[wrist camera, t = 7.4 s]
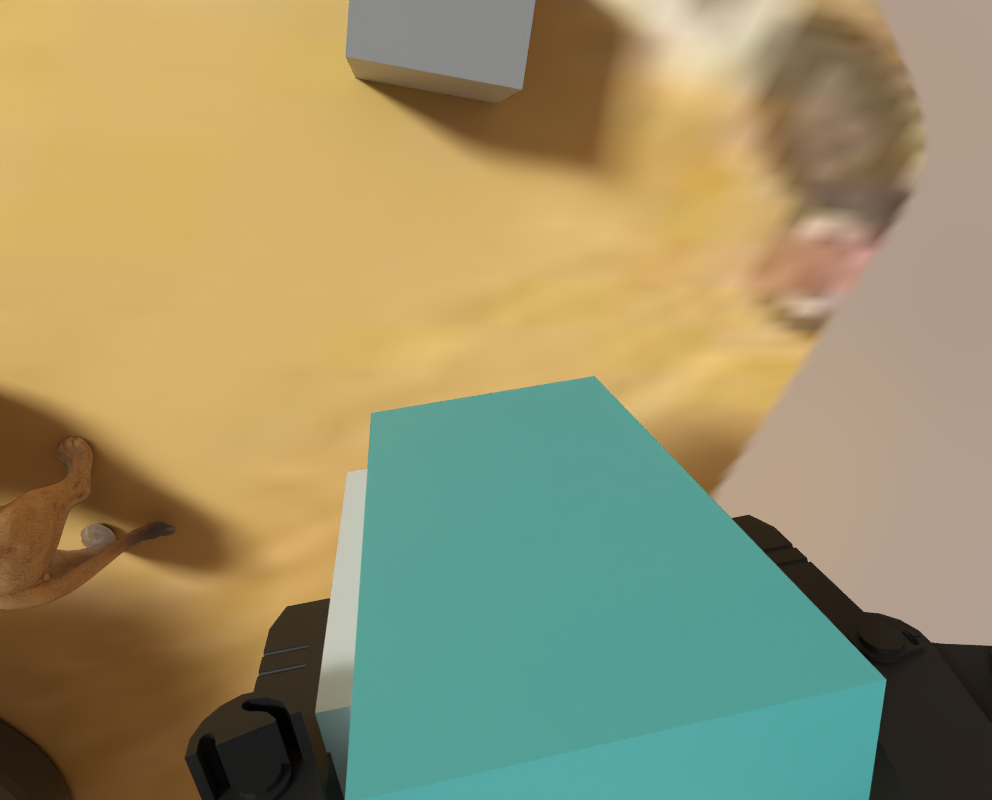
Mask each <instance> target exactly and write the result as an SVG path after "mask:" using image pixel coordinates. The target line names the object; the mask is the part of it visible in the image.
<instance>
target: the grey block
mask: <svg viewBox="0 0 992 800" xmlns="http://www.w3.org/2000/svg"><path fill="white" fill-rule="evenodd" d="M535 1H536V0H349V12H348V28H347V43H346V58H347V60H348V63H349V65H350V67H351V69H352V71H353V73H354V75H355V78H358V79H364V80H369V81H374V82H380V83H385V84H391V85H396V86H402V87H407V88H413V89H418V90H424V91H429V92H435V93H440V94H446V95H451V96H457V97H462V98H468V99H473V100H479V101H484V102H490V103H495V104H497V103H499V102H501V101H503V100H505V99H506V98H508V97H510V96H512V95H514V94H515V93H517V92H519V91H521V90H522V89H523V82H524V75H525V68H526V62H527V55H528V48H529V41H530V35H531V28H532V21H533V14H534V8H535Z"/></svg>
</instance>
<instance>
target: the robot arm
mask: <svg viewBox="0 0 992 800" xmlns="http://www.w3.org/2000/svg"><path fill="white" fill-rule="evenodd" d="M366 483H367V469H363V470H357V471H351V472H347V479H346V486H345V494H344V501H343V509H342V516H341V524H340V531H339V538H338V546H337V553H336V561H335V568H334V576H333V583H332V591H331V598H329V599H323V600H318V601H313V602H308V603H303V604H298V605H293V606H288V607H286V608H285V610H284V611H283V612H282V614H281V615H280V616H279V617H278V619H277V620H276V621H275V623H274V624H273V625H272V627H271V628H270V630H269V633H268V637H267V641H266V645H265V649H264V657H262V661H261V665H260V669H259V677H257V680H256V684H255V688H254V692H251V693H247V694H243V695H241V696H239V697H237V698H235V699H233V700H231V701H229V702H227V703H225V704H223V705H221V706H220V707H219V708H218V709H217V710H215V711H214V712H213V713H212V714H211V715H209V716H208V717H207V718H206V719H205V720H204V721H203V722H202V723H201V724H200V726H199V727H198V729H197V730H196V732H195V733H194V734H193V736H192V737H191V739H190V741H189V745H188V748H187V752H186V755H185V760H186V762H187V765H188V767H189V769H190V772H191V774H192V777H193V779H194V781H195V784H196V786H197V789H198V791H199V794H200V796H201V798H202V800H345V791H346V776H347V762H348V747H349V732H350V718H351V703H352V688H353V674H354V659H355V644H356V630H357V615H358V600H359V586H360V571H361V556H362V542H363V527H364V512H365V498H366ZM731 519H732V520H733V521H734V522H735V523H736V524H737V525H738V526H739V527H740V528H741V529H742V530H743V531H744V532H745V533H746V534H747V535H748V536H749V537H750V538H751V539H752V540H753V541H754V542H755V543H756V545H757V546H758V547H759V548H760V549H761V550H762V551H763V552H764V553H765V554H766V555H767V556H768V557H769V558H770V559H771V560H772V561H773V562H774V563H775V564H776V565H777V566H778V567H779V568H780V569H781V570H782V572H783V573H784V574H785V575H786V576H787V577H788V578H789V579H790V580H791V581H792V582H793V583H794V584H795V585H796V586H797V587H798V588H799V589H800V590H801V591H802V592H803V593H804V594H805V595H806V596H807V598H808V599H809V600H810V601H811V602H812V603H813V604H814V605H815V606H816V607H817V608H818V609H819V610H820V611H821V612H822V613H823V614H824V615H825V616H826V617H827V618H828V619H829V620H830V621H831V622H832V624H833V625H834V626H835V627H836V628H837V629H838V630H839V631H840V632H841V633H842V634H843V635H844V636H845V637H846V638H847V639H848V640H849V641H850V642H851V643H852V644H853V645H854V646H855V647H856V648H857V649H858V651H859V652H860V653H861V654H862V655H863V656H864V657H865V658H866V659H867V660H868V661H869V662H870V663H871V664H872V665H873V666H874V667H875V668H876V669H877V670H878V671H879V672H880V673H881V674H882V675H883V677H884V678H885V679H886V687H885V694H884V700H883V707H882V714H881V721H880V728H879V734H878V741H877V748H876V755H875V762H874V768H873V775H872V782H871V789H870V796H869V800H992V646H982V645H959V644H939V643H931V642H930V641H929V640H928V639H927V638H926V637H925V636H924V635H923V634H922V633H921V632H920V631H919V630H917V629H915V628H913V627H912V626H910V625H908V624H906V623H904V622H903V621H901V620H898V619H895V618H892V617H889V616H886V615H882V614H879V613H869V612H863V611H862V610H861V609H860V608H859V607H858V606H857V605H856V604H855V603H853V601H851V599H849V598H848V597H847V596H846V595H845V594H844V593H843V592H842V591H841V590H840V589H839V588H838V587H837V586H836V585H835V584H834V583H833V582H832V581H831V580H829V579H828V578H827V577H826V576H825V575H824V574H823V573H822V572H821V571H820V570H819V569H818V568H817V567H816V566H814V564H813V563H812V562H808V561H807V558H806V557H805V556H804V555H803V554H802V553H801V552H800V551H799V550H798V549H797V548H793V546H792V544H791V543H790V542H789V541H788V540H787V539H786V538H785V537H784V536H783V535H782V534H781V533H780V532H779V531H778V530H777V529H776V528H775V527H773V526H771V525H769V524H767V523H765V522H762V521H761V520H758V519H757V518H754V517H752V516H750V515H745V516H740V517H735V518H731ZM0 800H71V797H70V794H69V792H68V789H67V787H66V784H65V782H64V780H63V779H62V777H61V775H60V774H59V772H58V771H57V769H56V768H55V766H54V765H53V764H52V763H51V761H50V760H49V759H48V758H47V757H46V756H45V755H44V754H43V753H42V752H41V751H40V750H39V749H38V748H37V747H36V746H35V745H33V744H32V743H31V742H30V741H29V740H27V739H26V738H25V737H23V736H22V735H21V734H19V733H18V732H16V731H14V730H13V729H11V728H10V727H8V726H6V725H4V724H3V723H1V722H0Z"/></svg>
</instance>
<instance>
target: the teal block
mask: <svg viewBox="0 0 992 800" xmlns="http://www.w3.org/2000/svg"><path fill="white" fill-rule="evenodd" d="M885 687H886V679H885V678H884V677H883V675H882V674H881V673H880V672H879V671H878V670H877V669H876V668H875V667H874V666H873V665H872V664H871V663H870V662H869V661H868V660H867V659H866V658H865V657H864V656H863V655H862V654H861V653H860V652H859V651H858V649H857V648H856V647H855V646H854V645H853V644H852V643H851V642H850V641H849V640H848V639H847V638H846V637H845V636H844V635H843V634H842V633H841V632H840V631H839V630H838V629H837V628H836V627H835V626H834V625H833V624H832V622H831V621H830V620H829V619H828V618H827V617H826V616H825V615H824V614H823V613H822V612H821V611H820V610H819V609H818V608H817V607H816V606H815V605H814V604H813V603H812V602H811V601H810V600H809V599H808V598H807V596H806V595H805V594H804V593H803V592H802V591H801V590H800V589H799V588H798V587H797V586H796V585H795V584H794V583H793V582H792V581H791V580H790V579H789V578H788V577H787V576H786V575H785V574H784V573H783V572H782V570H781V569H780V568H779V567H778V566H777V565H776V564H775V563H774V562H773V561H772V560H771V559H770V558H769V557H768V556H767V555H766V554H765V553H764V552H763V551H762V550H761V549H760V548H759V547H758V546H757V545H756V543H755V542H754V541H753V540H752V539H751V538H750V537H749V536H748V535H747V534H746V533H745V532H744V531H743V530H742V529H741V528H740V527H739V526H738V525H737V524H736V523H735V522H734V521H733V520H732V519H731V517H730V516H729V515H728V514H727V513H726V512H725V511H724V510H723V509H722V508H721V507H720V506H719V505H718V504H717V503H716V502H715V501H714V500H713V499H712V498H711V497H710V496H709V495H708V494H707V493H706V491H705V490H704V489H703V488H702V487H701V486H700V485H699V484H698V483H697V482H696V481H695V480H694V479H693V478H692V477H691V476H690V475H689V474H688V473H687V472H686V471H685V470H684V469H683V468H682V467H681V466H680V464H679V463H678V462H677V461H676V460H675V459H674V458H673V457H672V456H671V455H670V454H669V453H668V452H667V451H666V450H665V449H664V448H663V447H662V446H661V445H660V444H659V443H658V442H657V441H656V440H655V438H654V437H653V436H652V435H651V434H650V433H649V432H648V431H647V430H646V429H645V428H644V427H643V426H642V425H641V424H640V423H639V422H638V421H637V420H636V419H635V418H634V417H633V416H632V415H631V414H630V412H629V411H628V410H627V409H626V408H625V407H624V406H623V405H622V404H621V403H620V402H619V401H618V400H617V399H616V398H615V397H614V396H613V395H612V394H611V393H610V392H609V391H608V390H607V389H606V388H605V387H604V385H603V384H602V383H601V382H600V381H599V380H598V379H597V378H596V377H595V376H593V377H587V378H581V379H574V380H568V381H562V382H556V383H550V384H544V385H538V386H532V387H526V388H520V389H514V390H508V391H502V392H496V393H490V394H484V395H478V396H472V397H466V398H460V399H454V400H447V401H441V402H435V403H429V404H423V405H417V406H411V407H405V408H399V409H393V410H387V411H381V412H375V413H371V424H370V439H369V454H368V468H367V483H366V498H365V512H364V527H363V542H362V556H361V571H360V586H359V600H358V615H357V630H356V644H355V659H354V674H353V688H352V703H351V718H350V732H349V747H348V762H347V776H346V791H345V800H869V796H870V789H871V782H872V775H873V768H874V762H875V755H876V748H877V741H878V734H879V728H880V721H881V714H882V707H883V700H884V694H885Z"/></svg>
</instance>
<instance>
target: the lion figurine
mask: <svg viewBox="0 0 992 800" xmlns="http://www.w3.org/2000/svg"><path fill="white" fill-rule="evenodd" d="M55 456H56V458H57V459H58V460H59V461H60V462H61V463H63V464H64V465H65V466H67V467H68V469H69V471H68V475H67V477H66V478H65V479H64V480H63V481H61V482H59V483H56V484H52V485H49V486H46V487H42V488H38V489H34V490H30V491H28V492H26V493H24V494H23V495H21V496H20V497H18V498H17V499H16V500H14V501H12V502H11V503H9V504H7V505H4V506H0V613H3V612H5V611H7V610H14V609H26V608H31V607H36V606H39V605H42V604H46V603H49V602H51V601H54V600H56V599H58V598H60V597H62V596H64V595H67V594H69V593H70V592H72V591H73V590H75V589H77V588H78V587H80V586H81V585H82V584H84V583H85V582H87V581H88V580H89V579H91V578H92V577H93V576H95V575H96V574H97V573H98V572H99V571H101V570H102V569H103V568H104V567H106V566H107V565H108V564H109V563H110V562H112V561H113V560H114V559H115V558H116V557H117V556H119V555H120V554H121V553H123V552H124V551H125V550H127V549H129V548H130V547H132V546H134V545H136V544H138V543H140V542H142V541H145V540H149V539H155V538H157V537H159V536H164V535H170V534H172V533H174V531H175V527H172V526H170V525H167V524H165V523H163V522H155V523H152V524H147V525H145V526H143V527H141V528H138V529H136V530H133V531H131V532H130V533H128V534H127V535H125V536H124V537H122V538H121V539H119V540H117V541H116V537H115V535H114V533H113V532H112V531H111V530H110V529H109V528H108V527H106V526H103V525H101V524H93V525H91V526H87V527H86V528H84V529H83V530H82V532H81V537H82V543H83V544H84V545H85V546H86V547H87V548H85V549H81V550H72V551H65V550H58V549H57V547H58V544H59V541H60V538H61V535H62V532H63V528H64V525H65V522H66V519H67V516H68V513H69V511H70V509H71V508H72V507H73V506H74V505H76V504H78V503H79V502H81V501H83V500H85V499H86V498H87V497H88V496H89V495H90V490H91V487H90V475H91V468H92V465H93V453H92V450H91V448H90V446H89V444H88V443H87V442H86V441H85V440H83V439H82V438H80V437H68V438H66V439H65V440H64V441H62V442H61V443H60V445H59V446H58V448H57V449H56V451H55ZM53 579H54V580H53Z"/></svg>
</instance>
